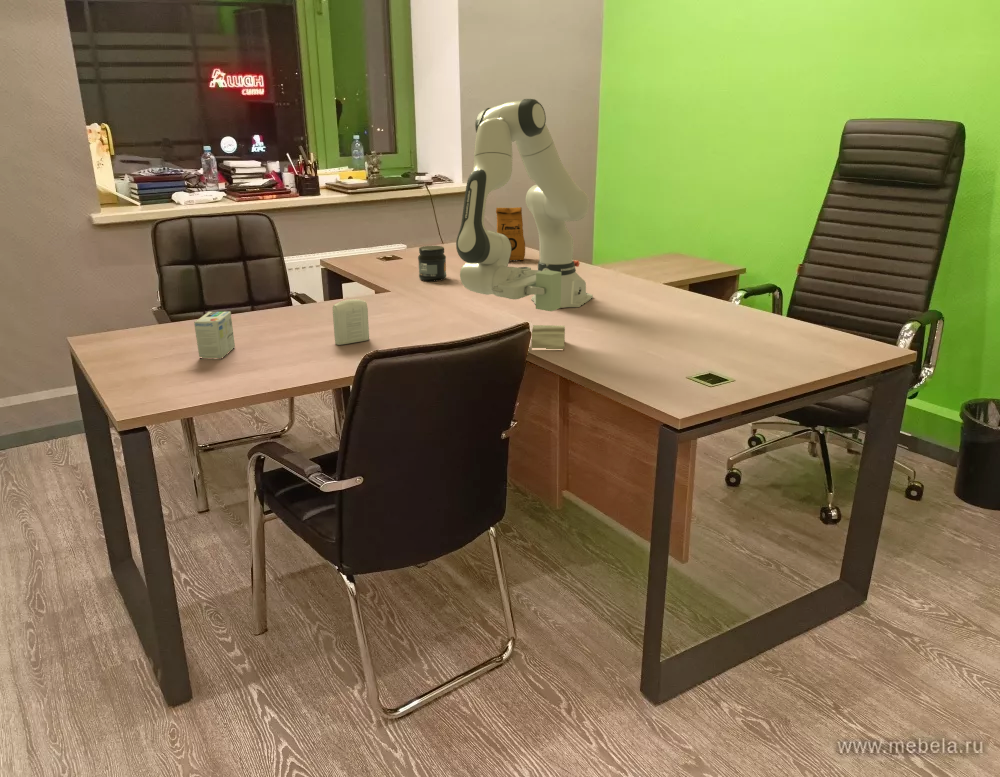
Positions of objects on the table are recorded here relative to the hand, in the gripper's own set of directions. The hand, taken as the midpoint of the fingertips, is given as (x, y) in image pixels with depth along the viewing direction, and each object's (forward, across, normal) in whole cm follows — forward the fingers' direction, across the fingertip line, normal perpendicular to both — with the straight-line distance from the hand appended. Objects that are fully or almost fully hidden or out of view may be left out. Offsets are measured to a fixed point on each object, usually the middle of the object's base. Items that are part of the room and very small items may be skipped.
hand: (551, 289), depth 223 cm
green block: (-1, 0, +6) cm, 6 cm away
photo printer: (-50, -28, +17) cm, 60 cm away
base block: (-1, 0, +17) cm, 17 cm away
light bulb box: (-73, -57, +17) cm, 94 cm away
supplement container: (-84, +48, +17) cm, 98 cm away
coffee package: (-80, +94, +16) cm, 125 cm away
